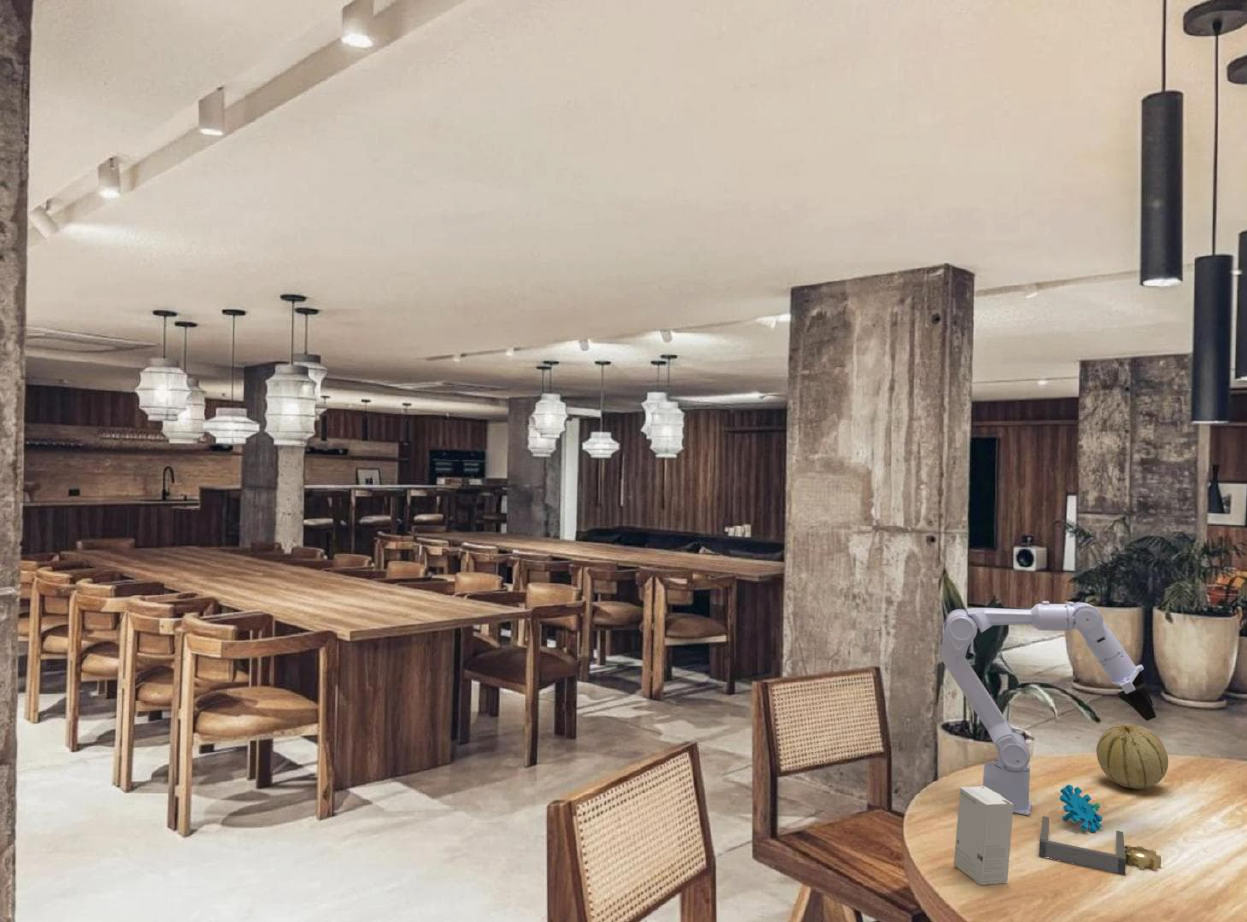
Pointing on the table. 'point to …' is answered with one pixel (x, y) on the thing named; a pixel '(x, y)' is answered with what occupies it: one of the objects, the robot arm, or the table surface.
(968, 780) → the table surface
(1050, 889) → the table surface
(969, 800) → the skincare box
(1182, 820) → the table surface
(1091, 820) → the gear
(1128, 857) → the bracket
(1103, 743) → the cantaloupe
